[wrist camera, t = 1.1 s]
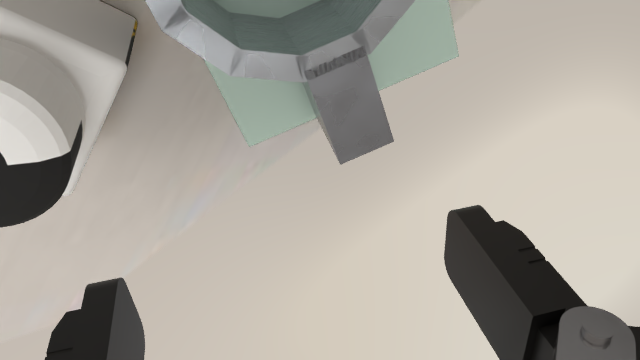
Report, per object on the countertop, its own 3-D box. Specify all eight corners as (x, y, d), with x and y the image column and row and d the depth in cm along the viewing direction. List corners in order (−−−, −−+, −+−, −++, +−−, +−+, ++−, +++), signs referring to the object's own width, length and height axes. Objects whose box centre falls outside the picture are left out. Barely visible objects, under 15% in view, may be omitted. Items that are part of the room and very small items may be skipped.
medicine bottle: (91, 130, 29) (47, 274, 19) (-54, 76, 26) (-196, 216, 16) (140, 18, 26) (118, 119, 17) (-15, -58, 23) (-155, 13, 13)
